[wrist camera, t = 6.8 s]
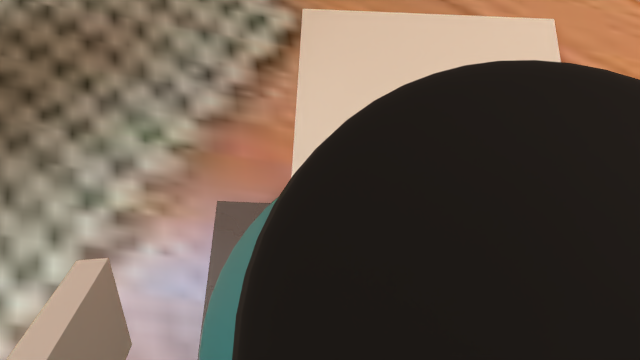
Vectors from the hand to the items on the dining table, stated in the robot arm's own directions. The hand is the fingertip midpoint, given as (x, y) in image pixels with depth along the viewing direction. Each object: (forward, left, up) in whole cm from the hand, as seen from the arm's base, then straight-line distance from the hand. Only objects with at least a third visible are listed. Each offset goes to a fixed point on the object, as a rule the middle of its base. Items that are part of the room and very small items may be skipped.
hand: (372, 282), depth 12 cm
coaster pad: (+4, +11, -10) cm, 15 cm away
